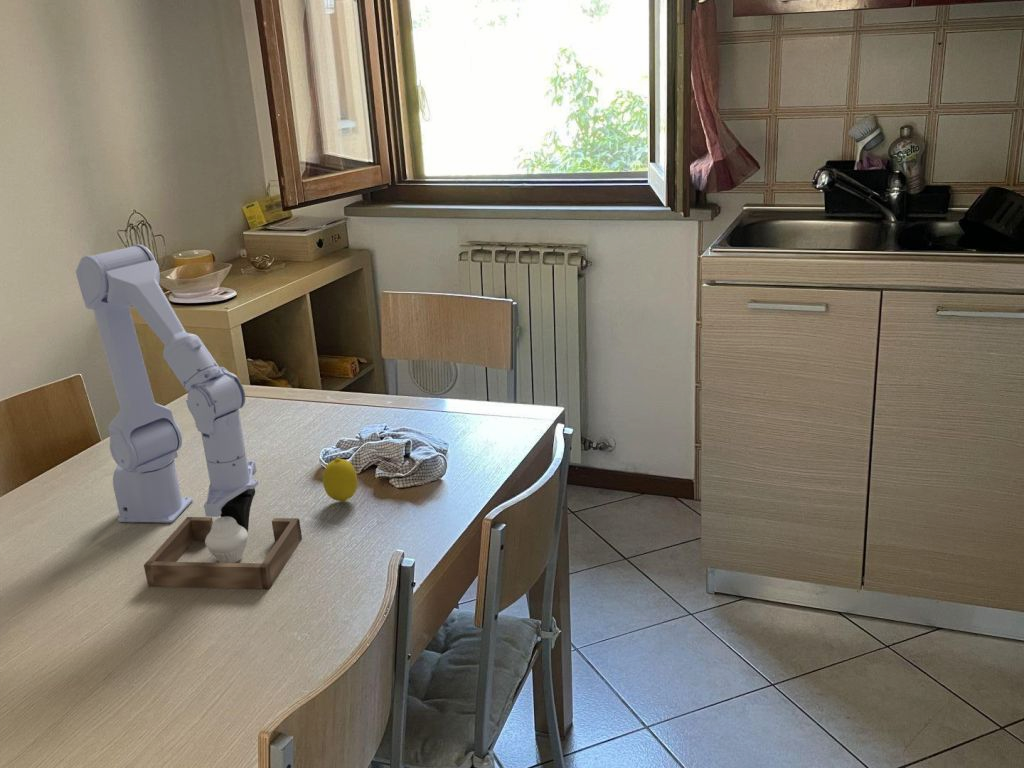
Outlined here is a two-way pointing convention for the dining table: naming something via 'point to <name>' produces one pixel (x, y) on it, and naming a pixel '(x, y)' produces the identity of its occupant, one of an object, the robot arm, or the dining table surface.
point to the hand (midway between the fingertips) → (239, 536)
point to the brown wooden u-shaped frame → (219, 575)
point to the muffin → (226, 540)
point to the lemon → (340, 480)
